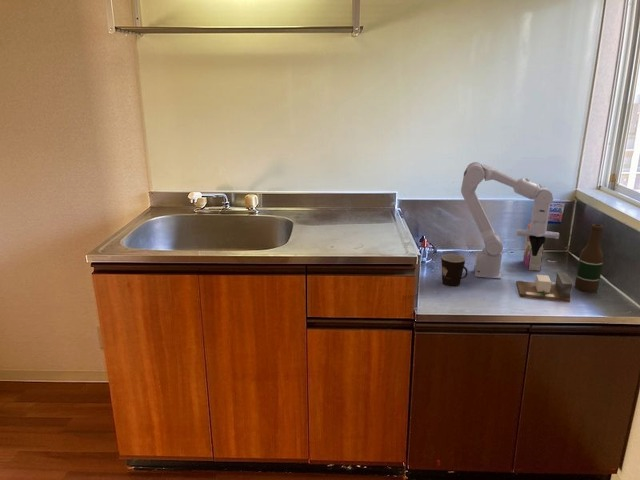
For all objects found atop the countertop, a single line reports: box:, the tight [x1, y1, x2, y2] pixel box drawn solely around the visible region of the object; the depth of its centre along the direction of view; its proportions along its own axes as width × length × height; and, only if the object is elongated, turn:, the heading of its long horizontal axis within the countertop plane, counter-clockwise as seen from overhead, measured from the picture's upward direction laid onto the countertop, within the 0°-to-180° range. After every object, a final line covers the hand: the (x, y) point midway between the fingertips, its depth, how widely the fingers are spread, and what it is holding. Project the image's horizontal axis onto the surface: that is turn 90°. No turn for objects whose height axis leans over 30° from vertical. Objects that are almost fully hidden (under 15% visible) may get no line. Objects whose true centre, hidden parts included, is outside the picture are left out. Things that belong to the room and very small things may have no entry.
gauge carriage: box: [534, 274, 556, 295], centre depth 171 cm, size 6×9×4 cm
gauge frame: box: [515, 272, 573, 303], centre depth 173 cm, size 16×12×6 cm
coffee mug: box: [440, 253, 468, 287], centre depth 179 cm, size 12×9×10 cm
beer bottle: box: [574, 223, 604, 294], centre depth 174 cm, size 8×8×24 cm
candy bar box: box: [522, 223, 545, 272], centre depth 196 cm, size 11×5×16 cm, turn 168°
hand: (534, 255), depth 183 cm, fingers closed
